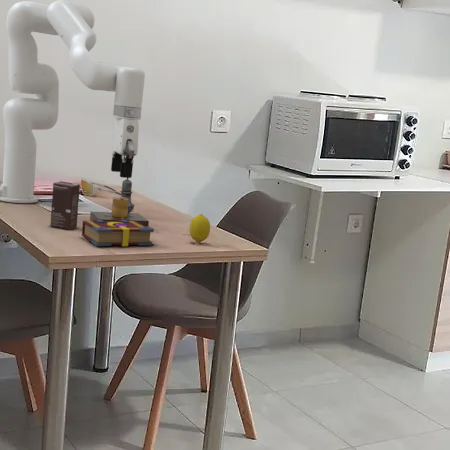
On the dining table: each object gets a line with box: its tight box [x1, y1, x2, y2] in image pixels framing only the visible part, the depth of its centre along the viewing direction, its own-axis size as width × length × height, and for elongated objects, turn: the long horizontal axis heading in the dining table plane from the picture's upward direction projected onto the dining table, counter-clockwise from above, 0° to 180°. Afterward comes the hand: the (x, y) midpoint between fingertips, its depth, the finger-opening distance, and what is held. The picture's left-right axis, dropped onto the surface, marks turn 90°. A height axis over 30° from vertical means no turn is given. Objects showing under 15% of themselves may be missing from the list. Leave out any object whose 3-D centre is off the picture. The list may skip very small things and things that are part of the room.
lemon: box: [188, 213, 211, 244], centre depth 200 cm, size 6×6×8 cm
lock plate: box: [89, 211, 150, 227], centre depth 211 cm, size 14×11×3 cm
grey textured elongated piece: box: [119, 178, 136, 213], centre depth 227 cm, size 6×6×12 cm
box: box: [50, 180, 81, 230], centre depth 201 cm, size 6×4×12 cm
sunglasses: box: [79, 177, 121, 197], centre depth 264 cm, size 14×15×5 cm
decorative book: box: [81, 220, 154, 247], centre depth 192 cm, size 11×16×5 cm
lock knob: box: [111, 196, 129, 218], centre depth 210 cm, size 4×4×5 cm
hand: (121, 174), depth 209 cm, fingers open, 9 cm apart
